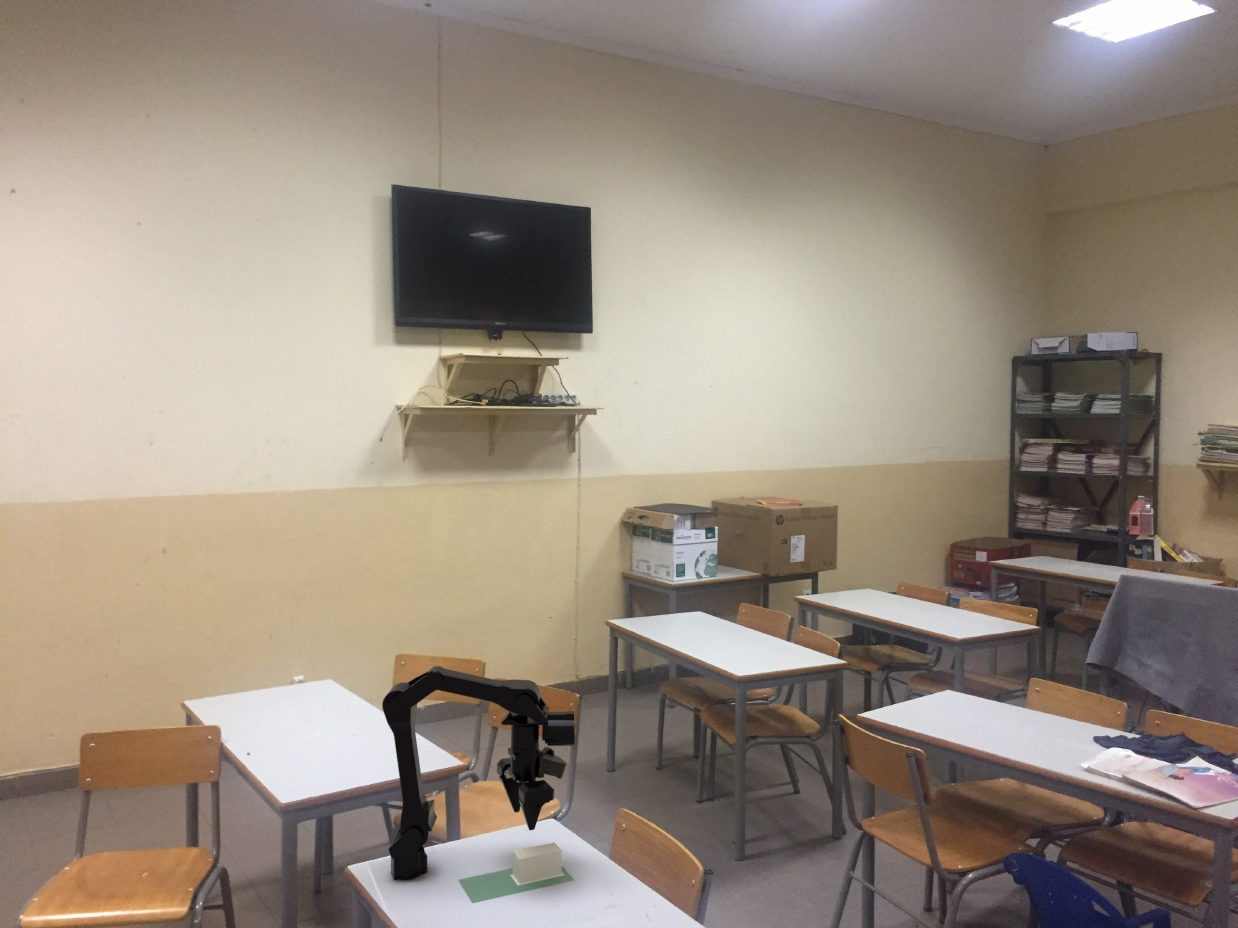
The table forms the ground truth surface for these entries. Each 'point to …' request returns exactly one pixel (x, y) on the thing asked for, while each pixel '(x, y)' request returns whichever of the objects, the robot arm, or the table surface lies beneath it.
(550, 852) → the block
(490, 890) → the board
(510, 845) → the table surface
